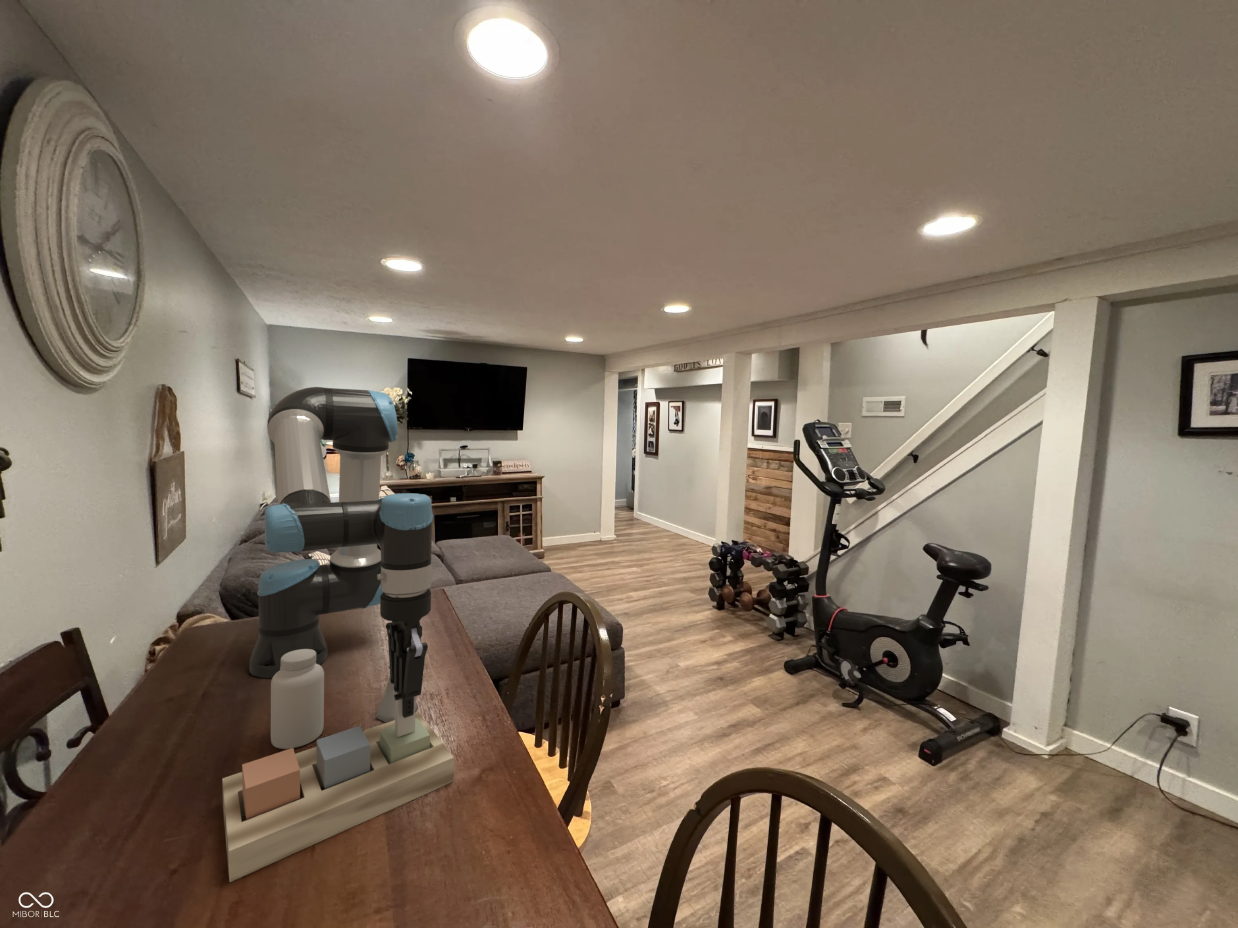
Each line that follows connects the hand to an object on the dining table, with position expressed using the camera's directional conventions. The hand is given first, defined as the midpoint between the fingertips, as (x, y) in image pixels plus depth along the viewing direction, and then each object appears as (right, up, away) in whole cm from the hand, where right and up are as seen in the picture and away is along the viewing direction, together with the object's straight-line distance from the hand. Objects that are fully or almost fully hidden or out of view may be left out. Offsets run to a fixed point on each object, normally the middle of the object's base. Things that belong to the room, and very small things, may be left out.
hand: (405, 731), depth 80 cm
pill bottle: (-23, -5, +8) cm, 24 cm away
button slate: (-7, -3, -6) cm, 9 cm away
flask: (-9, -5, +16) cm, 19 cm away
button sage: (0, -4, 0) cm, 5 cm away
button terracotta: (-14, -3, -12) cm, 18 cm away
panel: (-7, -6, -5) cm, 11 cm away
